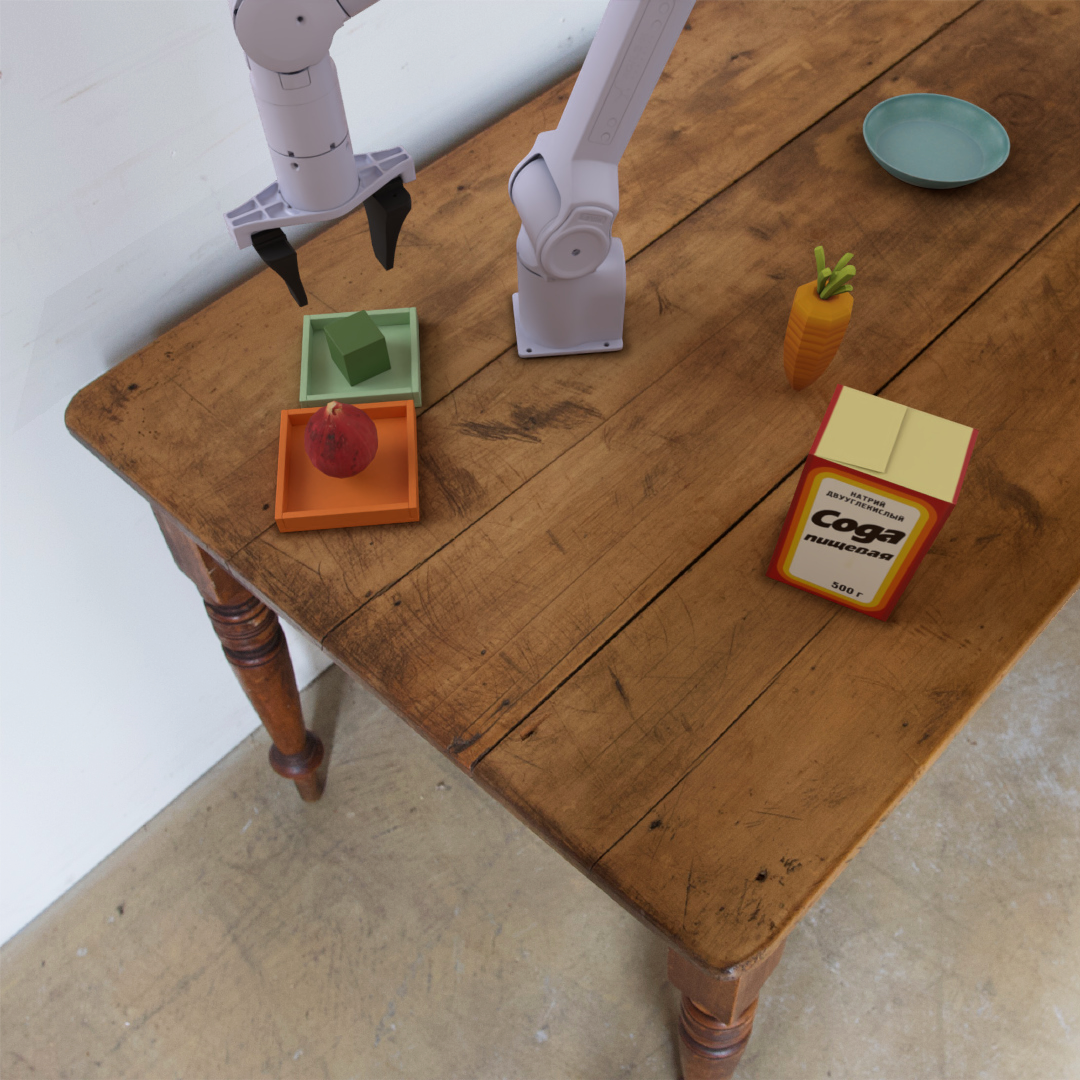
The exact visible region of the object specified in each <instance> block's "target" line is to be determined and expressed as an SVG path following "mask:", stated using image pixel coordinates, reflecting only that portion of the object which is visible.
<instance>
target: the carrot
mask: <svg viewBox="0 0 1080 1080" xmlns="http://www.w3.org/2000/svg"><path fill="white" fill-rule="evenodd" d="M813 249H814V250H813V251H814V258H815V262H816V270H817V271H816V272H817V278H816V279H814V280H811V281H809V282H807V283H805V284H802V285H800V286H798V287H797V289H796V291H795V294H794V297H793V301H792V305H791V309H790V313H789V316H788V317H789V318H788V321H787V325H786V331H785V336H784V341H783V353H782V354H783V356H782V357H783V360H782V361H783V370H784V374H785V377H786V379H787V380H786V381H787V382H788V384H789V387H790V388H791V389H792V390H793V391H794V392H795V391H796V392H802V391H803V390H805V389H807V388H808V387H810V386H811V385H813V384H814V383H816V381H817V380H818V379H819V378H821V377H822V376H823V375H824V373H825V372H826V371H827V369H828V368H829V366H830V364H831V363H832V361H833V360H834V358H835V357H836V355H837V353H838V351H839V349H840V346H841V344H842V342H843V339H844V337H845V335H846V332H847V329H848V327H849V323H850V322H851V317H852V312H853V307H854V301H855V300H854V299H855V298H854V297H853V296H852V295H851V293H850V292H853V290H854V287H853V286H852V284H850V283H847V282H849V281H850V280H852V278H854V277H855V276H856V274H857V269H856V266H855V265H852V264H848V263H849V262H850V261H851V260H852V258H853V257H854V256H855V254H853V253H851V252H846V253H845V254H844V255H842V257H841V258H840V259H839V261H838V262H837V263H836V265H835V266H834V267H833V269H832V270H831V268H830V267H829V266H828V267H826V257H825V250H824V247H823V245H817V246H816V247H815V248H813ZM846 283H847V284H846Z"/></svg>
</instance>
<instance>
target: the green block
mask: <svg viewBox="0 0 1080 1080" xmlns="http://www.w3.org/2000/svg"><path fill="white" fill-rule="evenodd" d="M358 311H359V312H357V311H356V312H357V313H355V314H352V315H350V316H348V317H346V318H343V319H341V320H339V321H336V322H334V323H332V324H329V325H327V326H325V327H323V328H324V332H325V336H326V339H327V343H328V347H329V350H330V354H331V358H332V360H333V361H334V363H335V364H336V365H337V367H338V368H339V370H340V371H341V373H342V374H343V376H344V377H345V379H346V380H347V381H348V383H349V384H350V386H351V387H352V386H354V385H357V384H359V383H361V382H363V381H365V380H367V379H370V378H372V377H374V376H376V375H378V374H381V373H383V372H385V371H387V370H389V369H391V365H390V360H389V355H388V350H387V345H386V340H385V337H384V335H383V334H382V333H381V331H380V330H379V329H378V327H377V326H376V325H375V323H374V322H373V320H372V319H371V318H370V316H369V315H368V314H367V312H366V311H367V310H365V309H361V310H358Z"/></svg>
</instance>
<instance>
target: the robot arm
mask: <svg viewBox="0 0 1080 1080" xmlns="http://www.w3.org/2000/svg"><path fill="white" fill-rule="evenodd" d="M380 1H381V0H227V4H228V8H229V13H230V18H231V21H232V27H233V30H234V34H235V36H236V38H237V41H238V43H239V46H240V47H241V50H243V57H244V60H245V64H246V67H247V68H248V70H249V73H248V74H249V75H248V76H249V78H248V79H249V84H250V87H251V90H252V94H253V97H254V102H255V105H256V108H257V112H258V116H259V119H260V123H261V126H262V130H263V133H264V137H265V141H266V145H267V148H268V151H269V155H270V158H271V161H272V165H273V169H274V172H275V176H276V180H274V181H272V182H271V183H270V184H269V185H267V186H266V187H264V188H263V189H262V190H260V191H259V192H257V193H256V194H255V195H253V196H252V197H251V198H249V199H248V200H246V201H245V202H243V203H242V204H240V205H238V206H237V207H235V208H233V209H230V210H228V211H226V212H224V213H222V217H223V221H224V223H225V226H226V228H227V229H226V230H227V231H228V234H229V236H230V238H231V240H233V242H234V244H235V245H236V247H237V248H238V249H239V251H240V250H241V251H242V250H244V249H246V248H249V247H251V246H252V248H253V249H254V250H255V251H256V253H257V254H258V256H259V257H260V259H261V260H262V261H263V262H264V263H265V264H266V265H267V266H268V267H269V268H270V269H272V270H273V271H274V272H275V273H276V274H277V275H278V276H279V277H280V278H281V279H282V280H283V281H284V283H285V285H286V287H287V289H288V291H289V294H290V296H291V297H292V298H293V299H294V301H295V303H296V304H297V305H298V307H299V308H304V307H306V306H308V305H309V301H308V300H309V298H308V296H307V293H306V291H305V287H304V285H303V282H302V279H301V275H300V271H299V263H298V252H297V251H296V250H295V249H294V247H293V246H292V244H291V242H289V240H288V236H287V235H286V233H285V232H284V231H283V229H282V228H287V227H293V226H299V225H306V224H313V223H318V222H325V221H330V220H331V221H332V220H335V219H338V218H341V217H343V216H344V215H346V214H348V213H350V212H351V211H353V210H354V209H355V208H356V207H358V206H359V205H360V204H362V203H363V208H364V210H365V211H364V212H365V214H366V217H367V223H368V230H369V235H370V241H371V242H370V243H371V247H372V250H373V254H374V258H376V259H377V261H378V263H380V265H381V267H383V269H384V270H385V272H389V271H390V270H393V269H394V265H395V258H396V257H395V256H396V250H397V246H398V245H397V244H398V239H399V236H400V233H401V229H402V227H403V224H404V222H405V220H406V218H407V217H408V215H409V213H410V212H411V210H412V206H413V205H412V196H411V193H410V192H409V191H408V190H407V189H406V187H404V184H409V183H411V182H414V181H416V180H417V175H416V168H415V161H414V157H413V156H412V155H411V154H410V153H409V152H408V150H407V149H406V148H405V147H404V146H403V145H402V144H399V145H397V146H393V147H390V148H386V149H382V150H375V151H368V152H362V153H354V150H353V149H354V148H353V143H352V139H351V134H350V128H349V124H348V120H347V114H346V110H345V105H344V100H343V95H342V94H343V93H342V90H341V84H340V80H339V79H340V78H339V74H338V73H339V72H338V69H337V68H338V67H337V65H336V63H335V60H334V59H333V57H332V55H331V54H330V49H331V46H332V43H333V40H334V36H335V34H336V33H337V31H338V30H340V29H341V28H342V27H344V26H345V23H346V22H348V21H349V20H351V19H352V18H354V17H356V16H357V15H359V14H360V13H362V12H364V11H365V10H367V9H369V8H370V7H372V6H374V5H375V4H377V3H378V2H380ZM696 2H697V0H608V3H607V6H606V8H605V11H604V12H603V15H602V17H601V20H600V23H599V24H598V28H597V30H596V33H595V34H594V37H593V39H592V42H591V44H590V47H589V49H588V51H587V54H586V56H585V59H584V61H583V63H582V65H581V66H582V67H581V68H580V71H579V74H578V76H577V78H576V81H575V82H574V86H573V88H572V90H571V92H570V95H569V98H568V101H567V102H566V105H565V107H564V110H563V112H562V115H561V117H560V119H559V122H558V124H557V127H556V129H552V130H547V131H542V132H540V133H539V134H538V135H537V136H536V139H535V142H534V143H533V146H532V148H531V149H530V151H529V152H528V154H526V156H524V157H523V158H522V160H520V161H519V163H517V165H516V166H515V167H514V169H513V170H512V172H511V174H510V177H509V179H508V184H507V192H508V196H509V199H510V202H511V204H512V205H513V206H514V207H515V209H516V211H517V213H518V216H519V218H520V221H521V225H520V228H519V232H518V235H517V237H516V244H515V245H516V246H515V247H516V268H517V269H516V271H517V292H514V293H513V294H512V296H511V297H512V298H511V300H512V308H513V317H514V326H515V335H516V346H517V354H518V356H519V357H520V358H523V359H524V358H525V359H526V358H538V357H540V358H541V357H551V356H565V355H566V356H567V355H578V354H589V353H590V354H591V353H603V352H604V353H605V352H615V351H621V350H622V349H623V347H624V342H623V333H624V332H623V331H624V319H625V308H626V307H625V306H626V295H627V270H626V269H627V268H626V257H625V251H624V245H623V241H622V239H621V237H618V236H613V235H612V234H613V233H612V232H613V231H612V230H613V225H614V222H615V220H616V218H617V215H618V214H619V212H620V188H619V187H620V186H619V164H620V162H621V160H622V157H623V156H624V154H625V151H626V149H627V147H628V145H629V142H630V141H631V138H632V137H633V134H634V133H635V130H636V128H637V126H638V124H639V122H640V120H641V117H642V115H643V114H644V110H645V109H646V107H647V105H648V103H649V101H650V98H651V96H652V94H653V92H654V90H655V88H656V86H657V84H658V82H659V80H660V78H661V75H662V74H663V71H664V69H665V67H666V65H667V63H668V62H669V59H670V57H671V55H672V52H673V50H674V48H675V47H676V44H677V43H678V40H679V38H680V36H681V34H682V32H683V30H684V28H685V26H686V23H687V21H688V19H689V17H690V15H691V13H692V11H693V8H694V6H695V4H696Z"/></svg>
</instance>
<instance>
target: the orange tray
mask: <svg viewBox="0 0 1080 1080" xmlns="http://www.w3.org/2000/svg"><path fill="white" fill-rule="evenodd" d="M352 405H353V406H355V407H357V408H359V409H361V410H363V411H364V412H365V413H366V414H367V415H368V416H369V417H370V419H371V420H372V421H373V422H374V424H375V426H376V429H377V436H378V449H377V452H376V455H375V458H374V459H373V460H372V461H371V463H370V464H369V465H368V466H367V467H366V468H365V469H364V470H363V471H361V472H360V473H358V474H357V475H355V476H352V477H347V478H342V479H340V478H335V477H330V476H328V475H326V474H324V473H323V472H321V471H320V470H318V469H317V468H316V467H314V465H313V464H312V462H311V460H310V458H309V457H308V455H307V453H306V451H305V446H304V433H305V428H306V426H307V424H308V422H309V420H310V418H311V416H312V415H313V414H314V413H316V412H317V411H318V410H319V409H320V408H322V407H314V408H302V407H301V408H289V409H282V410H281V411H280V427H279V440H278V441H279V443H278V459H277V473H276V475H277V476H276V491H275V506H274V520H275V523H276V525H277V528H278V530H279V533H280V534H281V533H293V532H294V533H295V532H304V531H317V530H329V529H330V530H331V529H341V528H342V529H343V528H351V527H352V528H353V527H354V528H355V527H363V526H364V527H366V526H378V525H389V524H402V523H414V522H420V498H419V497H420V495H419V493H420V491H419V467H418V466H419V464H418V437H417V435H418V431H417V412H416V407H415V406H414V401H413V400H407V401H406V400H403V401H390V402H378V403H365V404H352Z"/></svg>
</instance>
